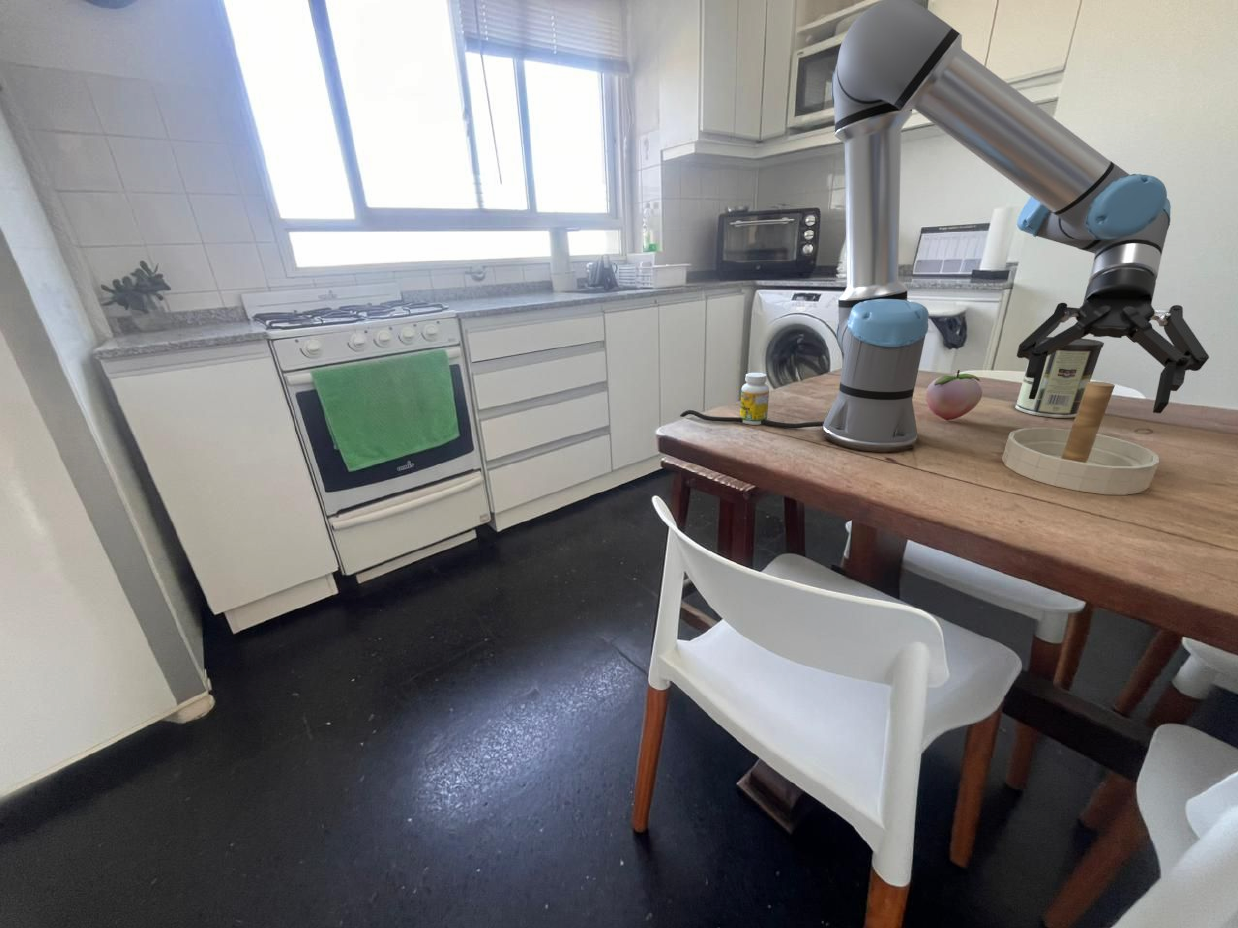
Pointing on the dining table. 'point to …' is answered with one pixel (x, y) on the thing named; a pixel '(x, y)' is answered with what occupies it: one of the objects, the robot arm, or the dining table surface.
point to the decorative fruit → (953, 395)
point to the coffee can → (1061, 380)
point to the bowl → (1107, 472)
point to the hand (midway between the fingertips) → (1093, 401)
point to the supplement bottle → (754, 399)
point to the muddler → (1087, 421)
